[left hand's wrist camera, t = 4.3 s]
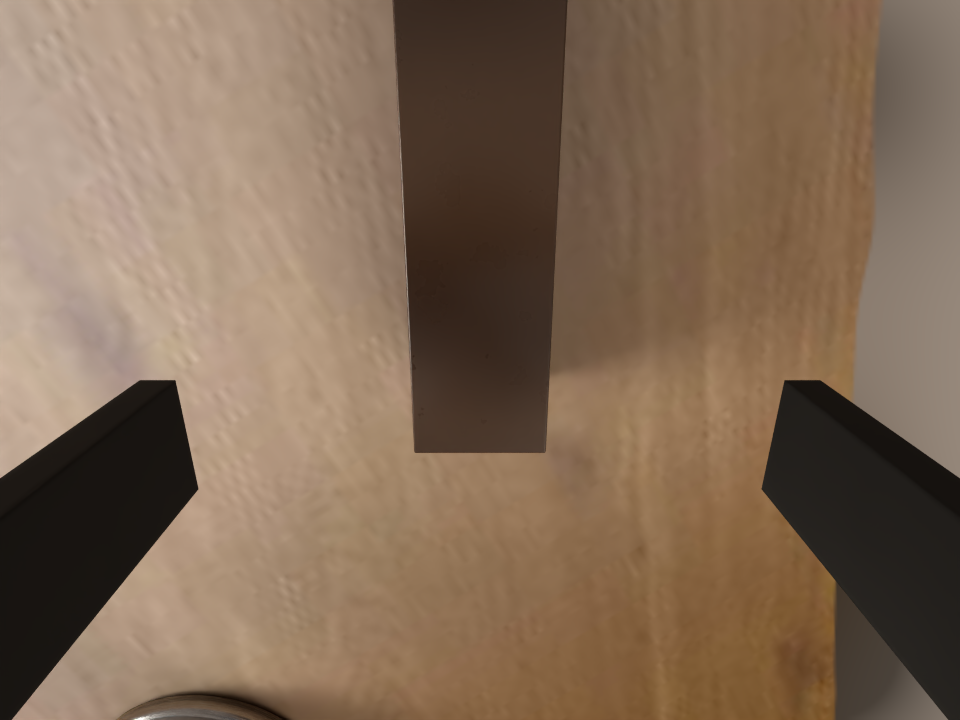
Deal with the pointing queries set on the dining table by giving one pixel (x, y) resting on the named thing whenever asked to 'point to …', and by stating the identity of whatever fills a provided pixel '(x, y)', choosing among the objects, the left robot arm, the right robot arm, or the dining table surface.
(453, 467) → the dining table surface
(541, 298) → the beam
